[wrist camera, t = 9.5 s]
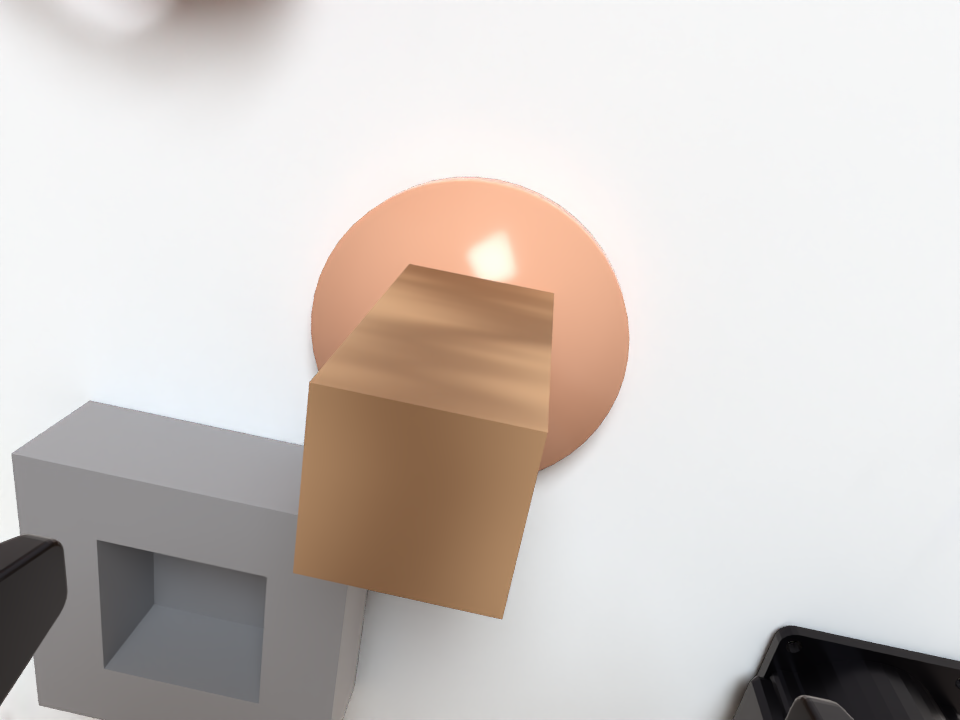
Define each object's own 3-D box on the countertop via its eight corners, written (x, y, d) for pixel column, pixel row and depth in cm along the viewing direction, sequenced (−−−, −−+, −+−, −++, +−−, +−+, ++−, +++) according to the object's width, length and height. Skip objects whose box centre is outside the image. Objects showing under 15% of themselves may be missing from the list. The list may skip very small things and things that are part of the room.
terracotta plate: (662, 211, 18) (668, 218, 18) (586, 491, 22) (587, 509, 21) (336, 148, 19) (324, 151, 18) (311, 434, 22) (300, 449, 21)
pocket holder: (384, 463, 22) (354, 527, 19) (354, 686, 26) (325, 770, 23) (89, 400, 23) (11, 453, 20) (102, 629, 27) (38, 705, 23)
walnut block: (554, 292, 19) (547, 432, 11) (524, 422, 20) (502, 619, 13) (409, 263, 19) (309, 382, 11) (391, 394, 20) (293, 572, 13)
